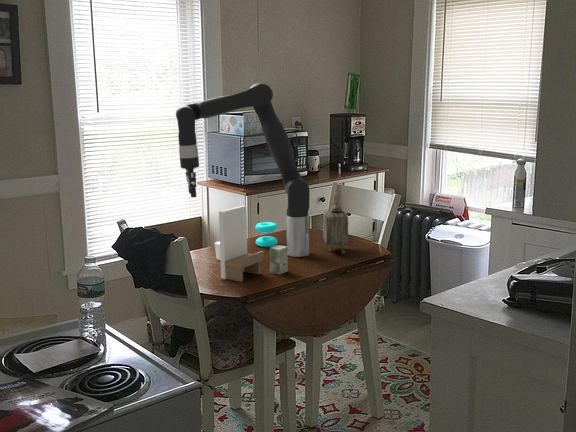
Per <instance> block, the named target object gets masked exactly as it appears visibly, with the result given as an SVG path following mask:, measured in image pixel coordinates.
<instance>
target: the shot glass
mask: <svg viewBox="0 0 576 432" xmlns="http://www.w3.org/2000/svg"><path fill="white" fill-rule="evenodd" d="M214 250H215V256H216V260H217V261H220V240H219V241H218V240H217V241H215V242H214Z"/></svg>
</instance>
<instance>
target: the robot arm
mask: <svg viewBox="0 0 576 432" xmlns="http://www.w3.org/2000/svg"><path fill="white" fill-rule="evenodd" d="M273 97H274V93H273V89H272V88H271V87H270V86H269V85H268V84H266V83H261V82H260V83H255V84H252V85H251V86H250V87H249V88H248V89H245V90H243V91H240V92H237V93H234V94H228V95H227V94H226V95H223V96H216V97H213V98H209V99H205V100H202V101H200V102H199V101H198V102H194V103H189V104H185V105H181V106H179V107H178V108H177V109H176V111H175V117H176V121H177V129H178V134H177V135H178V136H177V138H178V146H179V147H178V155H179V164H180V165H179V166H180V168H181V169H182V170H185V180H186V182H187V186H188V188H187V189H188V194H190V198H197V186H198V185H197V172H196V170H195V168H199V167H200V159H199V157H200V156H199V148H198V143H197V135H196V121H197V120H200V119H210V118H213V117H216V116H220V115H224V114H227V113H231V112H233V111H236V110H237V111H238V110H241V109H245V108H253V110H254V113H255V114H256V116H257V118H258V121H259V123H260V127H261V130H262V133H263V136H264V139H265V142H266V144H267V147H268V149H269V153H271V156H272V158H273V160H274V163H275V164H276V167H277V168H278V170H279V172H280V176H281V179H282V184H283V186H284V190H285V193H286V195H287V208H286V246H287V257H288V256H289V257H293V258H296V257H297V258H299V257H307V256H308V257H309V256H310V234H309V210H310V186H309V184H308V182H307V181H305V180H304V178H302V176H301V174H300V172H299V169H298V167H297V165H296V162H295V156H294V151H293V146H292V143H291V141H290V138H289V135H288V133H287V131H286V129H285V127H284V126H283V124H282V122H281V120H280V118H278V117H279V116H277V113H276V112H275V110H274V106H273V103H272V100H273Z"/></svg>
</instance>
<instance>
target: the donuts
mask: <svg viewBox="0 0 576 432" xmlns="http://www.w3.org/2000/svg"><path fill="white" fill-rule="evenodd" d="M277 229H278V225H277V223H275V222H270V221H264V222H258V223H256V225H255V230H256V231H257V232H259V233H262V234H263V233H264V234H270V233H271V234H272V233H273V232H276V231H277ZM278 243H279V242H278V239H277V238H276V237H274V236H271V235H270V236H269V235H266V236H260V237H258V238H256V240H255V244H256V246H257V247H259V248H271V247H274V246H276V245H278Z"/></svg>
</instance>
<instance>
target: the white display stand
mask: <svg viewBox="0 0 576 432" xmlns="http://www.w3.org/2000/svg"><path fill="white" fill-rule="evenodd" d="M218 220H219V221H218V222H219V223H218V224H219V229H218V230H219V241H220V260H219V263H220V279H222V280H230V281H235V282H240V283H241V282H243V281H244V273H249V274H253V275H254V274H255V275H260V274H261V262H262V261H264V260H265V256H264V255H265V251H264V250H261V251H258V252H254V253H249V252H248V228H247V227H248V226H247V223H248V221H247V205H238V206H235V207H231V208H227V209H223V210H218Z"/></svg>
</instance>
